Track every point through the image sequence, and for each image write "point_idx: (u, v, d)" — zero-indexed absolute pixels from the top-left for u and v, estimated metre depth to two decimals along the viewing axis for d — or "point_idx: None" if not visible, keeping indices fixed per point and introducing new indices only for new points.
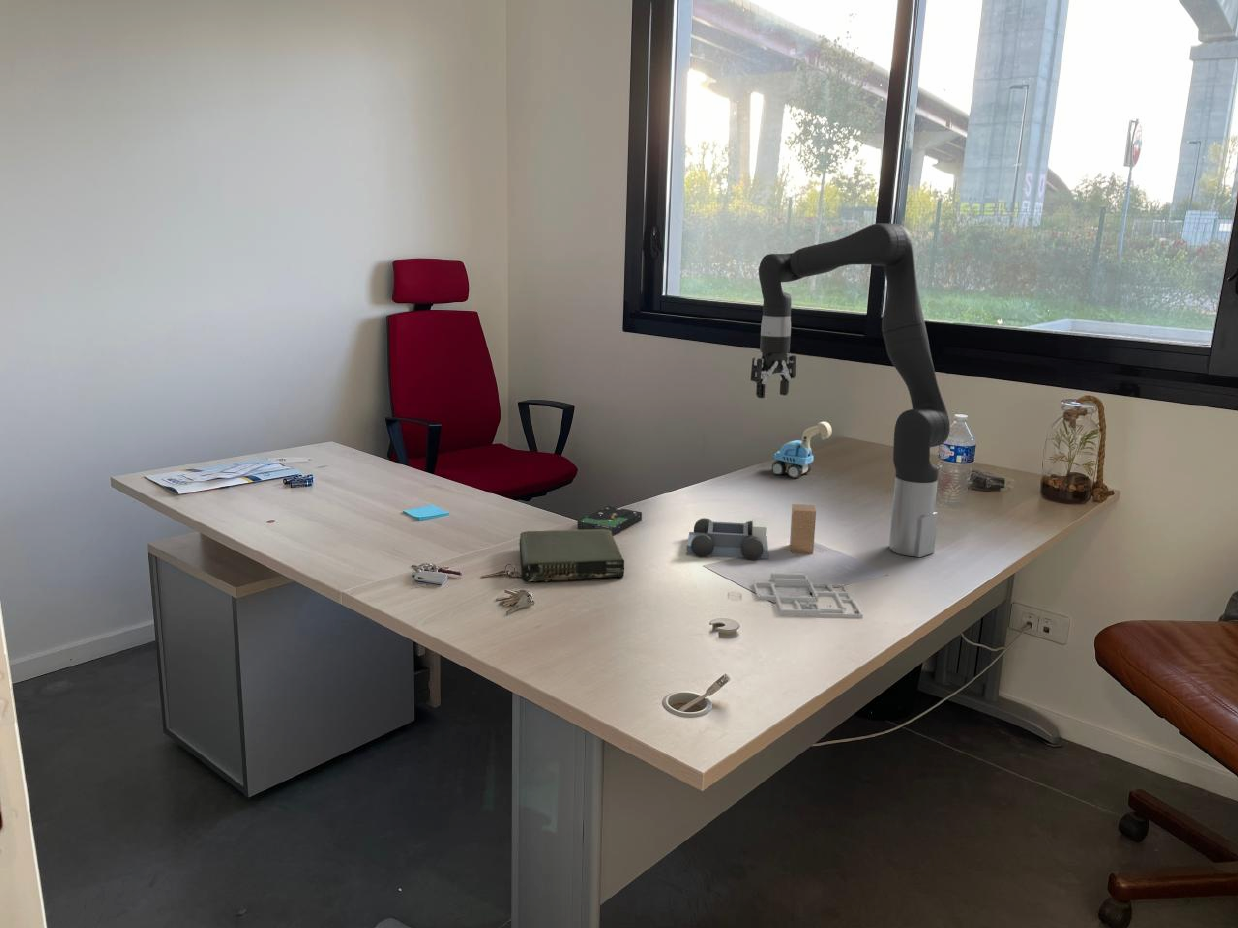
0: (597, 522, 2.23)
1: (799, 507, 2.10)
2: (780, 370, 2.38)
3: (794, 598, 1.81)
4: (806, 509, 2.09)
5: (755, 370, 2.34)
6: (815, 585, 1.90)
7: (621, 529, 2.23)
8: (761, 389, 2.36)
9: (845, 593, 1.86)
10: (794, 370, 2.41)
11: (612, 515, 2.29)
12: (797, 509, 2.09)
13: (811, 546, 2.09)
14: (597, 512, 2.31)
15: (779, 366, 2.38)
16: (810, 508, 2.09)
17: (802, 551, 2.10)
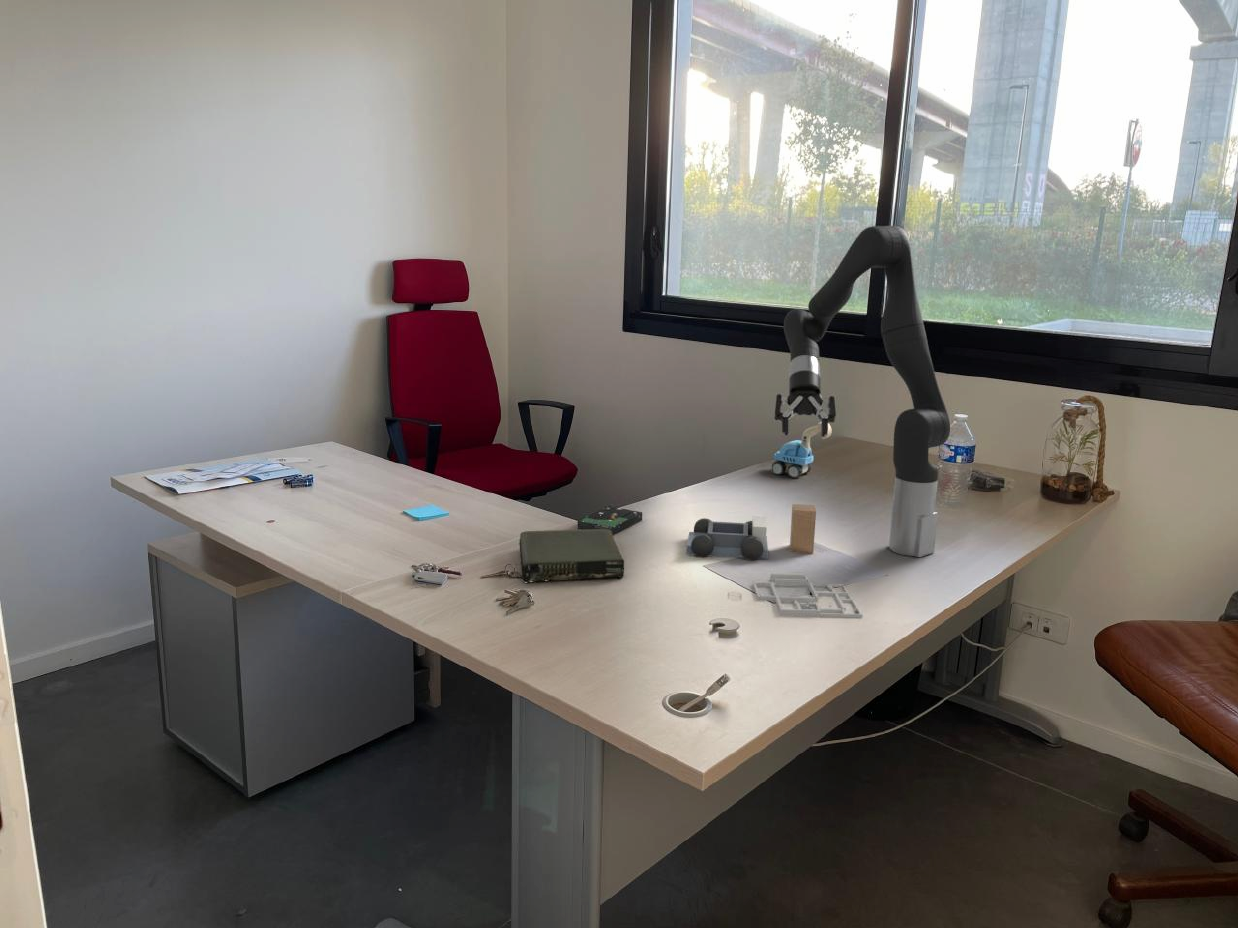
0: (597, 522, 2.23)
1: (799, 507, 2.10)
2: (810, 407, 2.20)
3: (794, 598, 1.81)
4: (806, 509, 2.09)
5: None
6: (815, 585, 1.90)
7: (621, 529, 2.23)
8: (783, 423, 2.19)
9: (845, 593, 1.86)
10: (833, 409, 2.19)
11: (612, 515, 2.29)
12: (797, 509, 2.09)
13: (811, 546, 2.09)
14: (597, 512, 2.31)
15: (808, 404, 2.21)
16: (810, 508, 2.09)
17: (802, 551, 2.10)
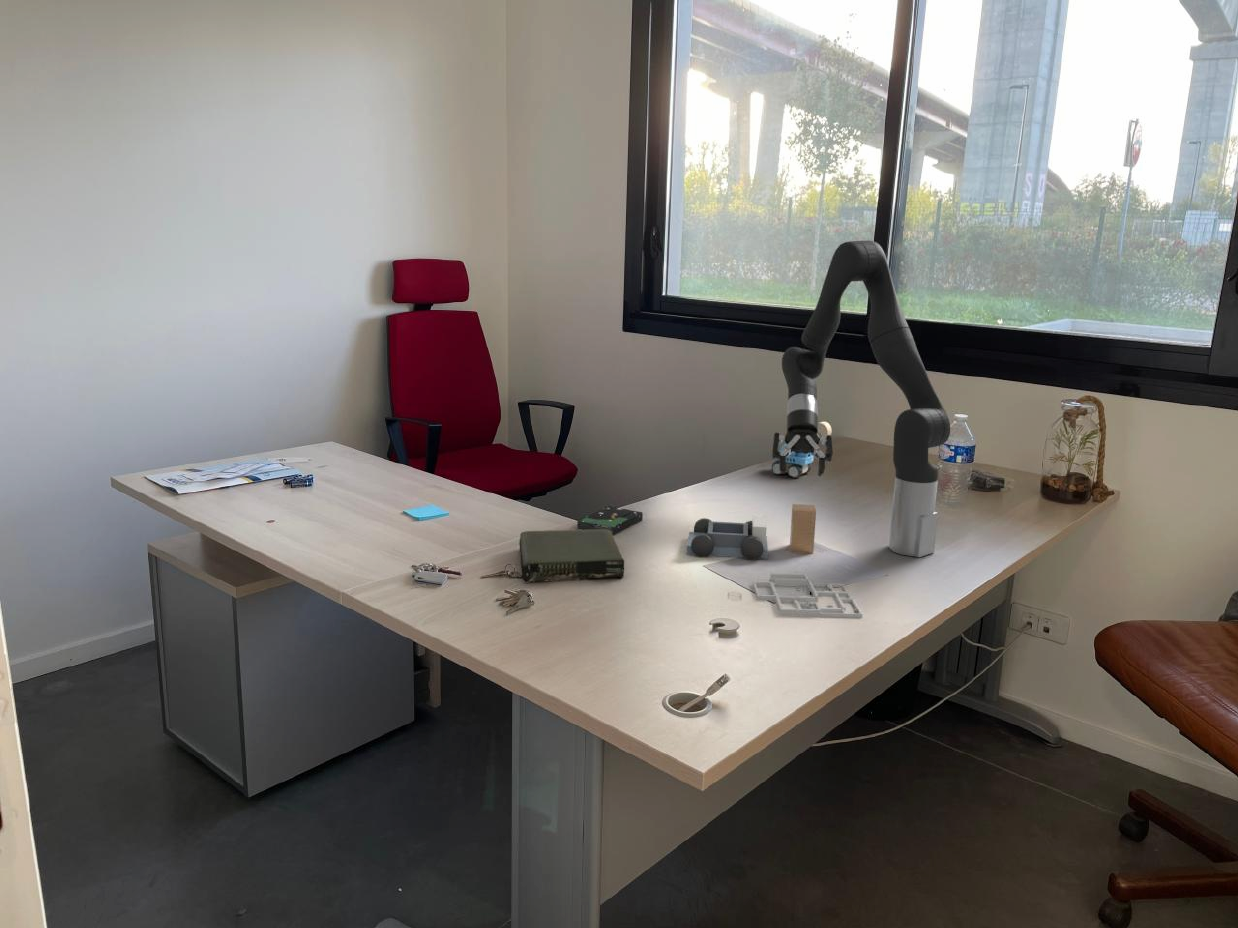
0: (597, 522, 2.23)
1: (799, 507, 2.10)
2: (808, 446, 2.22)
3: (794, 598, 1.81)
4: (806, 509, 2.09)
5: None
6: (815, 585, 1.90)
7: (621, 529, 2.23)
8: (781, 462, 2.21)
9: (845, 593, 1.86)
10: (830, 448, 2.22)
11: (612, 515, 2.29)
12: (797, 509, 2.09)
13: (811, 546, 2.09)
14: (598, 512, 2.31)
15: (806, 442, 2.23)
16: (810, 508, 2.09)
17: (802, 551, 2.10)
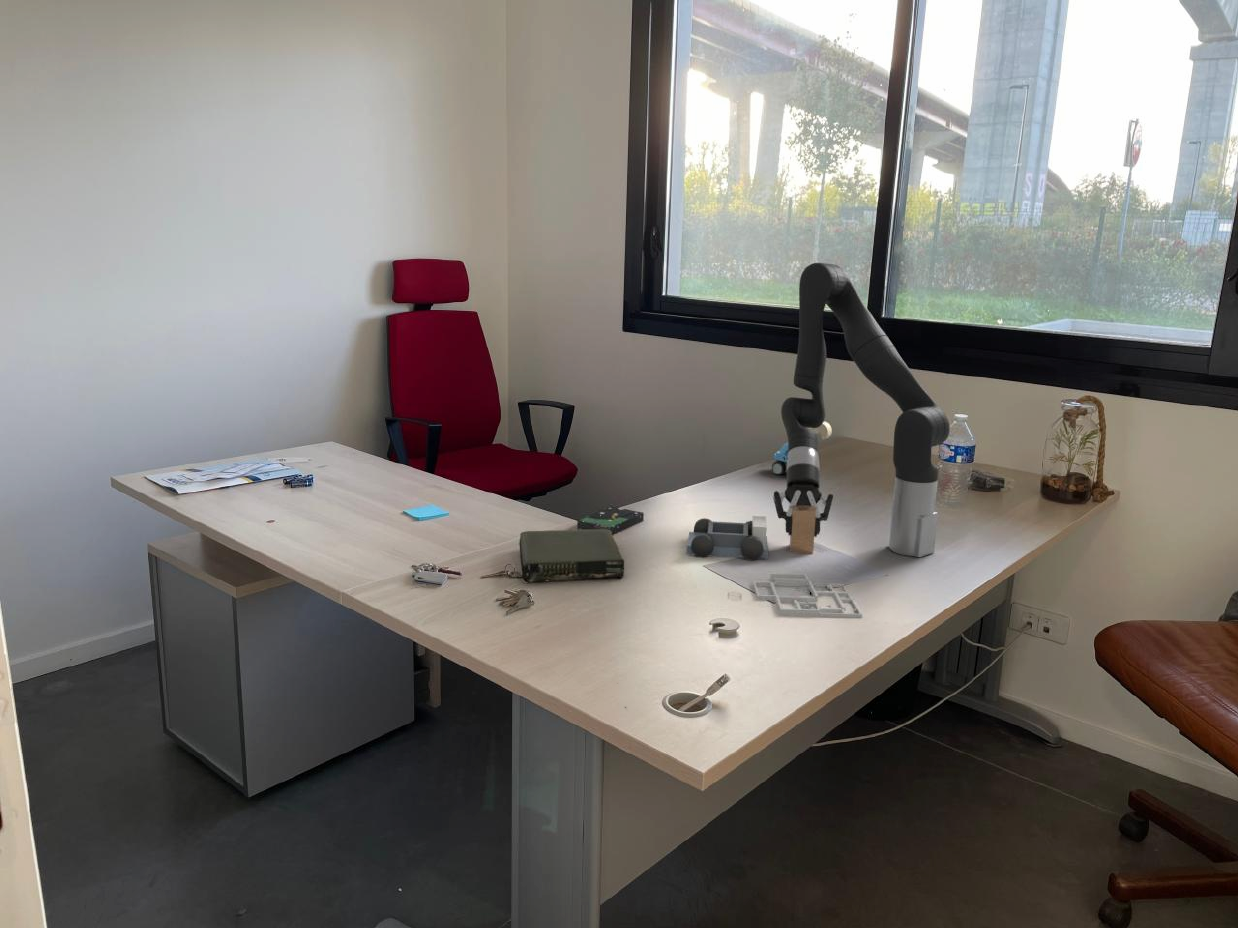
0: (597, 522, 2.23)
1: (798, 507, 2.10)
2: (806, 502, 2.13)
3: (794, 598, 1.82)
4: (806, 509, 2.09)
5: (776, 505, 2.14)
6: (815, 585, 1.90)
7: (620, 529, 2.23)
8: (787, 523, 2.11)
9: (845, 593, 1.86)
10: (827, 508, 2.11)
11: (613, 515, 2.29)
12: (797, 509, 2.09)
13: (811, 546, 2.09)
14: (598, 512, 2.31)
15: (805, 498, 2.13)
16: (810, 508, 2.09)
17: (802, 551, 2.10)
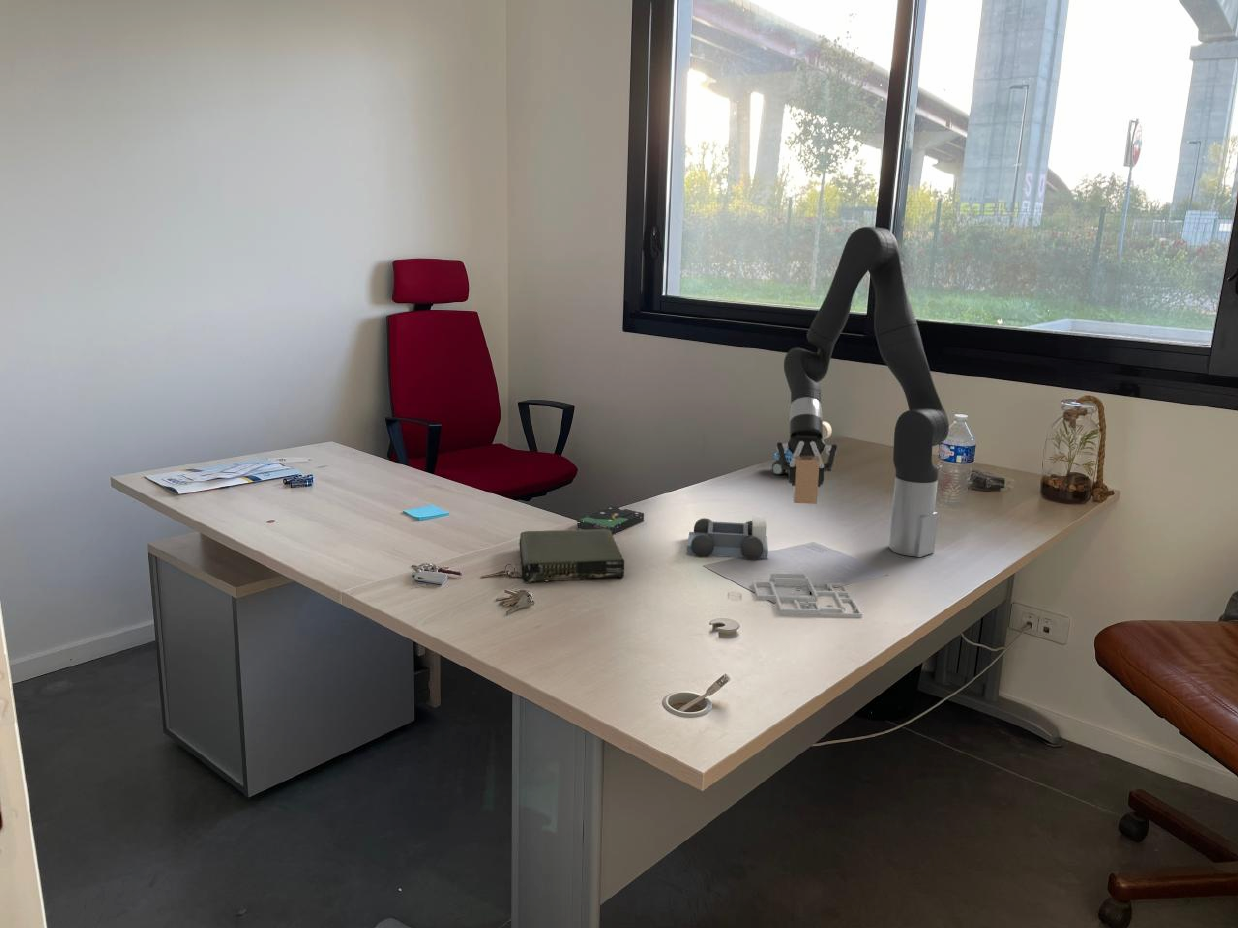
0: (597, 522, 2.23)
1: (802, 457, 2.07)
2: (809, 453, 2.10)
3: (794, 597, 1.82)
4: (809, 459, 2.06)
5: (779, 456, 2.11)
6: (815, 584, 1.90)
7: (620, 529, 2.23)
8: (791, 473, 2.08)
9: (845, 592, 1.86)
10: (831, 458, 2.08)
11: (613, 515, 2.29)
12: (800, 459, 2.06)
13: (815, 497, 2.07)
14: (599, 512, 2.31)
15: (809, 448, 2.10)
16: (813, 458, 2.06)
17: (805, 501, 2.07)
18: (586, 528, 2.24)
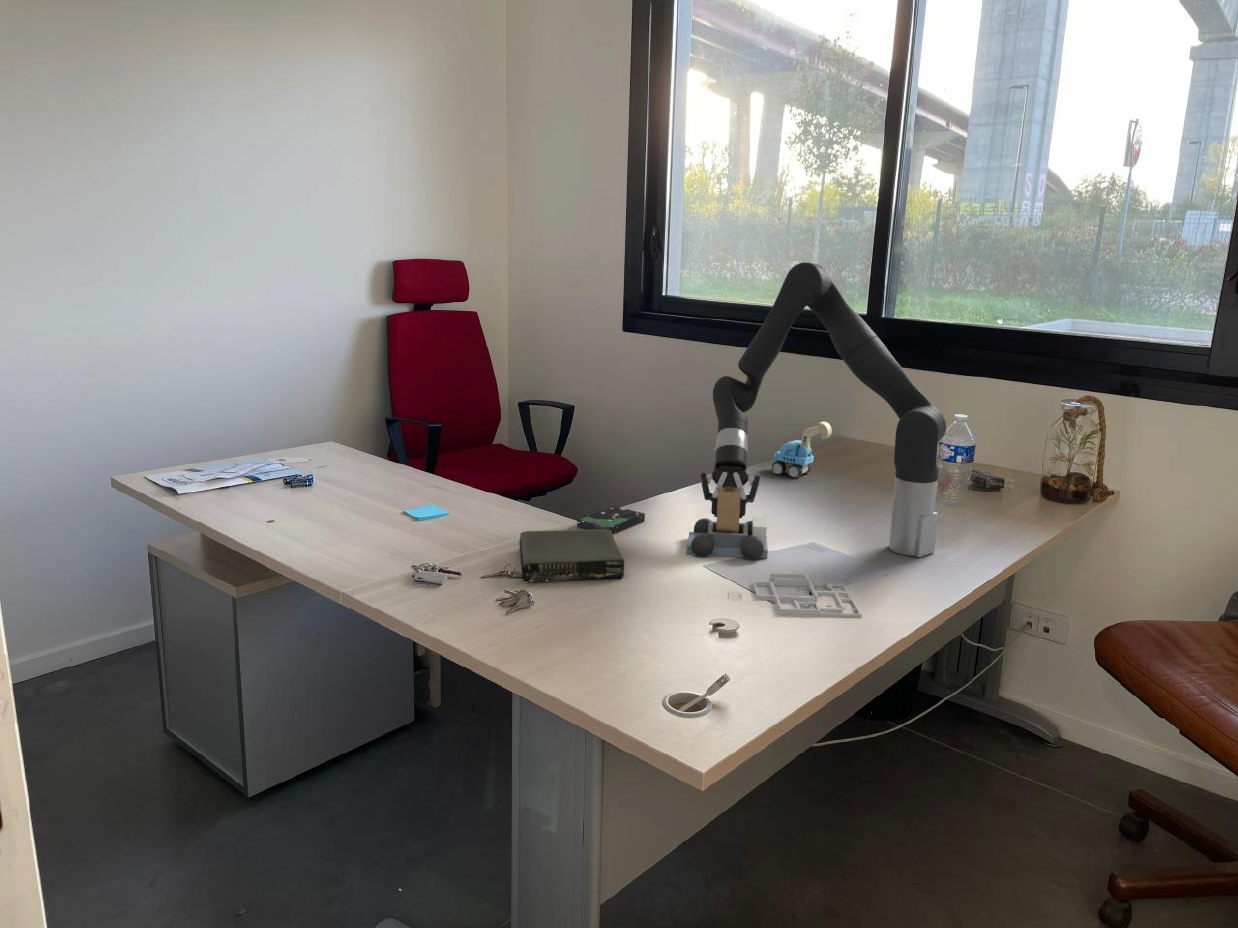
0: (596, 521, 2.23)
1: (724, 488, 2.09)
2: (732, 484, 2.11)
3: (793, 597, 1.82)
4: (731, 490, 2.07)
5: (702, 486, 2.12)
6: (815, 584, 1.90)
7: (620, 529, 2.23)
8: (713, 504, 2.09)
9: (845, 593, 1.86)
10: (753, 490, 2.10)
11: (614, 515, 2.29)
12: (722, 490, 2.07)
13: (737, 528, 2.08)
14: (600, 511, 2.31)
15: (732, 479, 2.11)
16: (735, 490, 2.08)
17: None
18: (586, 528, 2.24)
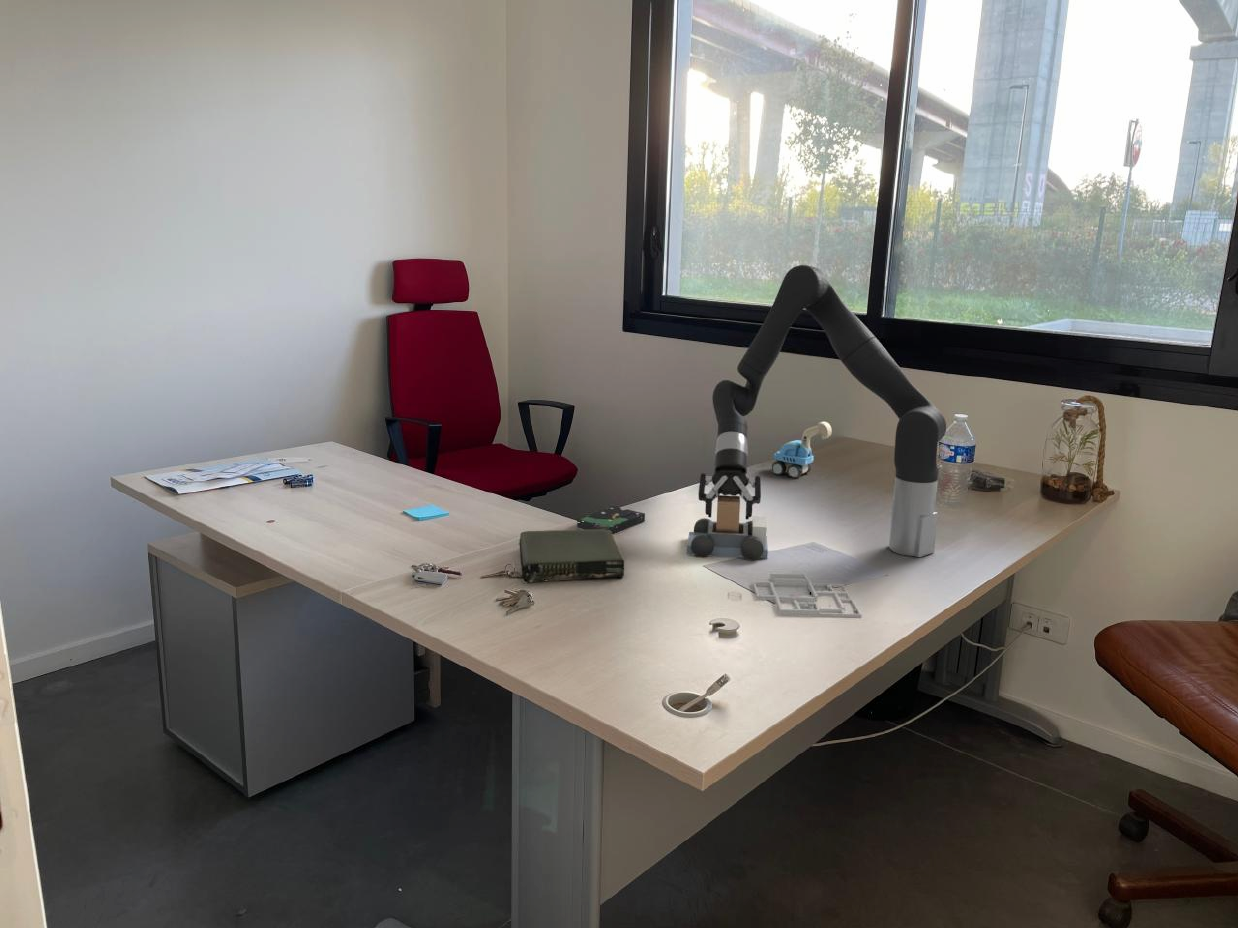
0: (596, 521, 2.23)
1: (723, 498, 2.09)
2: (735, 488, 2.11)
3: (793, 598, 1.82)
4: (730, 500, 2.08)
5: None
6: (815, 585, 1.90)
7: (619, 529, 2.23)
8: (707, 505, 2.10)
9: (844, 593, 1.86)
10: (758, 490, 2.10)
11: (614, 515, 2.29)
12: (721, 500, 2.08)
13: None
14: (600, 512, 2.31)
15: (733, 484, 2.12)
16: (734, 499, 2.08)
17: None
18: (586, 528, 2.24)
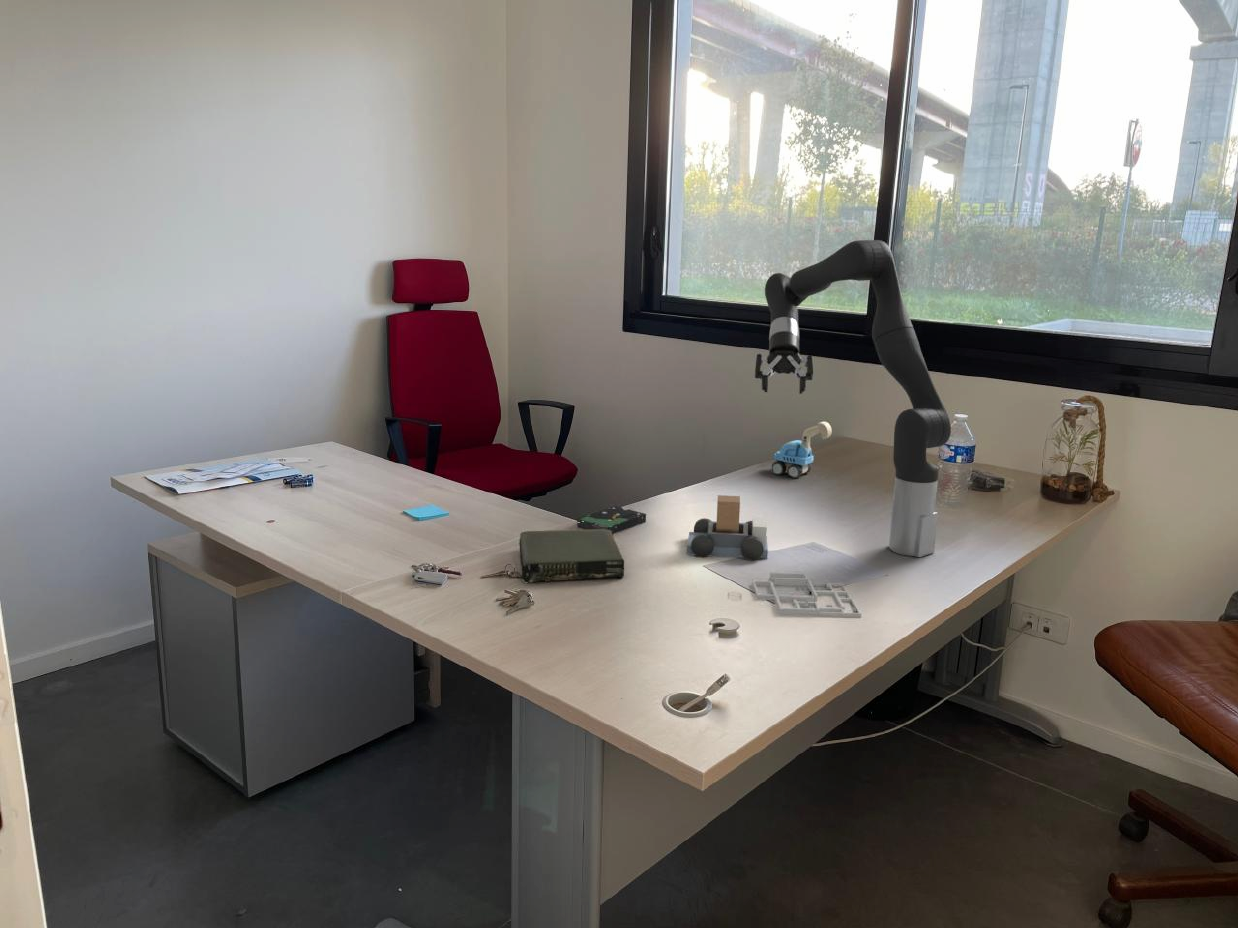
0: (596, 521, 2.24)
1: (723, 498, 2.09)
2: (789, 366, 2.30)
3: (793, 597, 1.82)
4: (730, 500, 2.08)
5: None
6: (814, 584, 1.90)
7: (619, 529, 2.23)
8: (763, 381, 2.29)
9: (844, 592, 1.86)
10: (810, 368, 2.29)
11: (614, 515, 2.29)
12: (721, 500, 2.08)
13: None
14: (601, 511, 2.31)
15: (787, 362, 2.31)
16: (734, 499, 2.08)
17: None
18: (585, 527, 2.24)
